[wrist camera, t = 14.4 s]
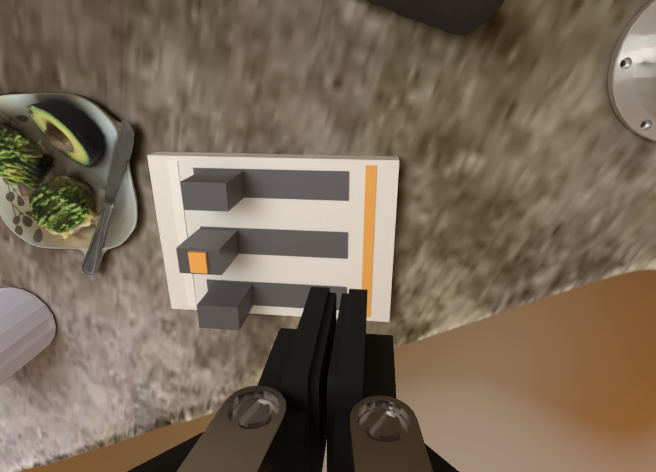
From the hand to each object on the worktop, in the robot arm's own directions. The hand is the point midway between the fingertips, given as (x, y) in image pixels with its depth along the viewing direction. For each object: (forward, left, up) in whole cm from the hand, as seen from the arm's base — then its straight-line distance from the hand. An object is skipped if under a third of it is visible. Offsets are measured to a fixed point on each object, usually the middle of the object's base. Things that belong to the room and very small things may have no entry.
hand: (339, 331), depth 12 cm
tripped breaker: (+15, +9, -27) cm, 32 cm away
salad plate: (+31, +2, -30) cm, 43 cm away
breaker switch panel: (+9, +9, -29) cm, 32 cm away
